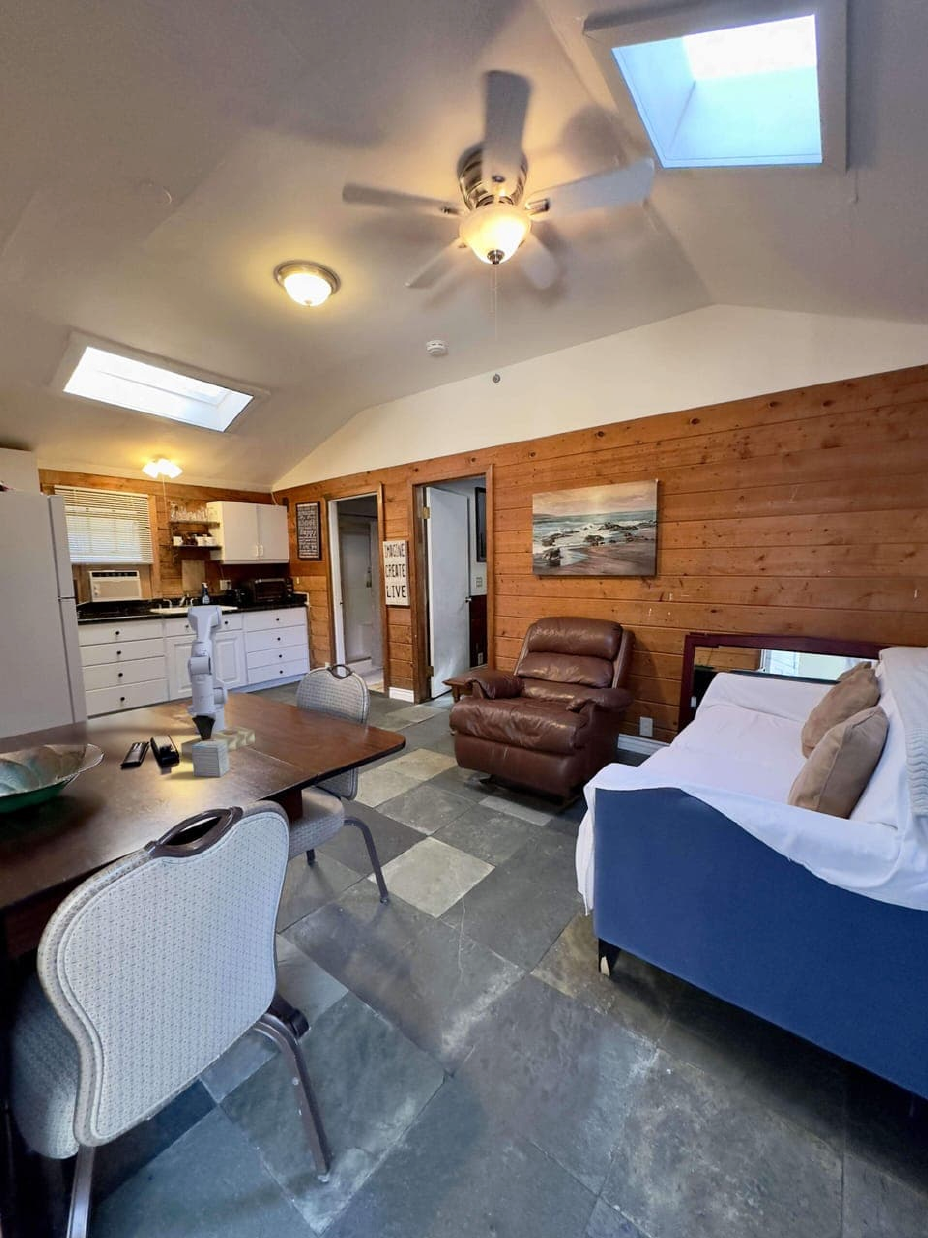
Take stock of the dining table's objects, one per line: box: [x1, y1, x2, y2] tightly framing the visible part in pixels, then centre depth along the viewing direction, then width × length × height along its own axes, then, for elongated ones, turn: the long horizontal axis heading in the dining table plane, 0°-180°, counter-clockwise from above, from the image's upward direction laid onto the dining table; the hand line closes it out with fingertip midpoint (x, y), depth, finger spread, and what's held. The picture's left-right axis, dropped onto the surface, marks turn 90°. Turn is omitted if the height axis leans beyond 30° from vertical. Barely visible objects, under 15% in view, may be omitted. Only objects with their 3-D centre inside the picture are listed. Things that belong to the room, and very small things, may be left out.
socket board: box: [180, 725, 256, 761], centre depth 150 cm, size 18×10×4 cm, turn 150°
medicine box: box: [192, 741, 230, 778], centre depth 132 cm, size 8×4×9 cm, turn 84°
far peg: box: [223, 730, 238, 735], centre depth 154 cm, size 3×3×4 cm
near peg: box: [199, 737, 214, 742], centre depth 147 cm, size 3×3×4 cm
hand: (206, 738), depth 147 cm, fingers closed, pressing on near peg
